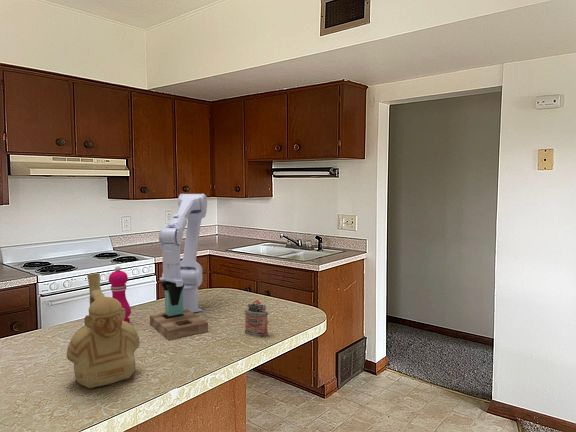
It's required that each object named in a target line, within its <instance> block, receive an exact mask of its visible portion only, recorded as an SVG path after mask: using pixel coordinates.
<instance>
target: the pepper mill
mask: <svg viewBox="0 0 576 432" xmlns="http://www.w3.org/2000/svg"><path fill="white" fill-rule="evenodd" d="M128 279H129V277H128V274H127V272H125V271H123V270H122V269H121V266H115V268H114V271H112V272H111V273H110V274H109V276H108V283H109V284H110V291H111V292H112V294H111V295H112V298H115V299H117V300H118V301H119V302H120V303H121V305H122V308H124V309H125V310H126V315H125V319H124V320H123V321H126V322H128V323H129V324H131V322H130V321H131V320H130V316H131V313H132V308H131V306H130V303H129V301H128V300H127V296H126V290H127V283H128Z"/></svg>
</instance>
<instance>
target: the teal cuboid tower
mask: <svg viewBox="0 0 576 432" xmlns="http://www.w3.org/2000/svg"><path fill="white" fill-rule="evenodd" d="M164 309H165V311H164V313H165V314H167V315H168V316H173V315H178V314H183V290H182V292H181V295H180V299H179V304H178V305H174V306H172V305H171V300H170V295H169V291H168V290H165V292H164Z"/></svg>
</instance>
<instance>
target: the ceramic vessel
mask: <svg viewBox="0 0 576 432" xmlns="http://www.w3.org/2000/svg"><path fill="white" fill-rule="evenodd" d="M86 278H87V281H88V287H89V290H88V291H89V307H88V315H85V316H84V319H83V320H84V321H83V322H84V325H82V326H81V327H80V328H79V329H77V330H76V331H75V332H74V333H73V335H72V337H71V339H70V341H69V343H68V345H67V350H66V354H65V355H66V358H67V360H68V361H69V362H71V363H73V372H74V377H75V380H76V382H77V383H78V384H80V385H81V386H83V387H86V388H88V389H94V388H98V387H102V386H107V385H111V384H114V383H118V382H121V381H125V380H128V379H129V378H131V377H132V375H133V373H134V372H135V370H136V357H135V351H136V350H137V349H139V347H140V337H139V335H138V332H137V330H136V328H135V327H134V326H133V325H132V324H131V323H130V324H129V323H128V322H126V321H123V320H124V319H125V315H126V310H125V309H124V308H122V305H121V303H120V302H119V301H118V300H117V299H115V298H112V297H111V296H105V294H104V293H103V292H102V286H101V274H100V273H99V272H95V273H91V274H87V277H86Z"/></svg>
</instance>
